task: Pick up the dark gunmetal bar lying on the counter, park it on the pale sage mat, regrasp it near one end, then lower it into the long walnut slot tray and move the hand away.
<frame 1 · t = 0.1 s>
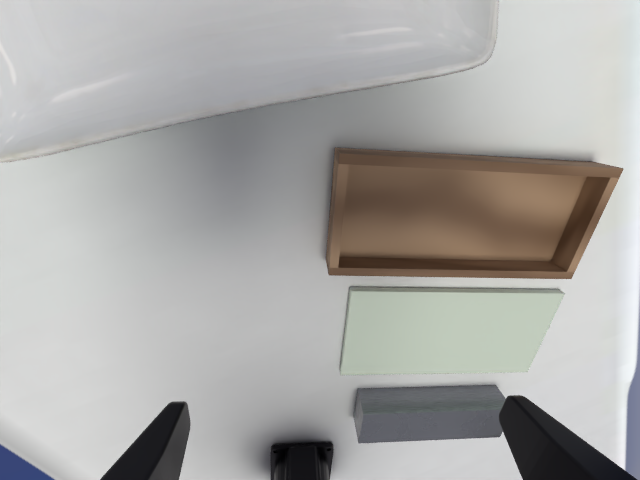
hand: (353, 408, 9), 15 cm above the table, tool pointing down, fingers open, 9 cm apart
sage mat: (445, 331, 27), on the table
walnut slot tray: (454, 212, 22), on the table
gunmetal bar: (422, 397, 31), on the table
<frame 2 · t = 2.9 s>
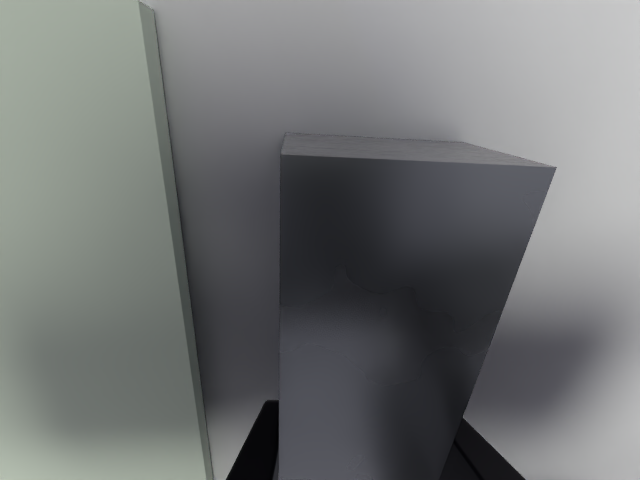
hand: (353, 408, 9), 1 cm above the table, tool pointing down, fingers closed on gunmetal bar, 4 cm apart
sage mat: (37, 375, 9), on the table
gunmetal bar: (345, 363, 10), on the table, touching gripper
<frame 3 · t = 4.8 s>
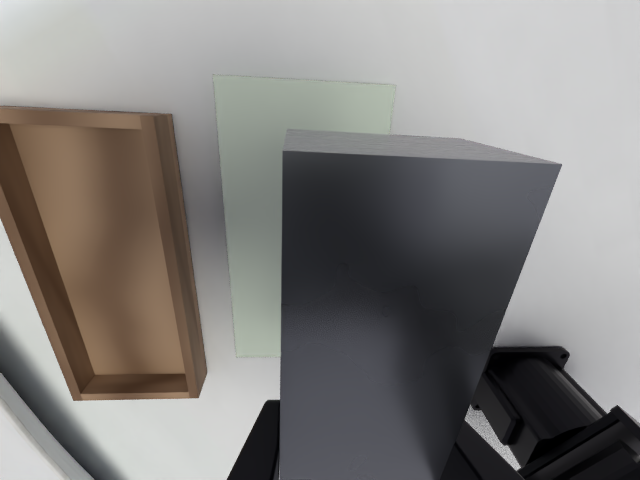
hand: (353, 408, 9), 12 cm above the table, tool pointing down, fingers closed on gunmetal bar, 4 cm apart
sage mat: (301, 241, 19), on the table
walnut slot tray: (125, 267, 19), on the table
gunmetal bar: (346, 363, 10), point 10 cm above the table, touching gripper
when the fingers open (3 cm above the table, at t = 6.5 s): gunmetal bar drops 1 cm, resting on sage mat.
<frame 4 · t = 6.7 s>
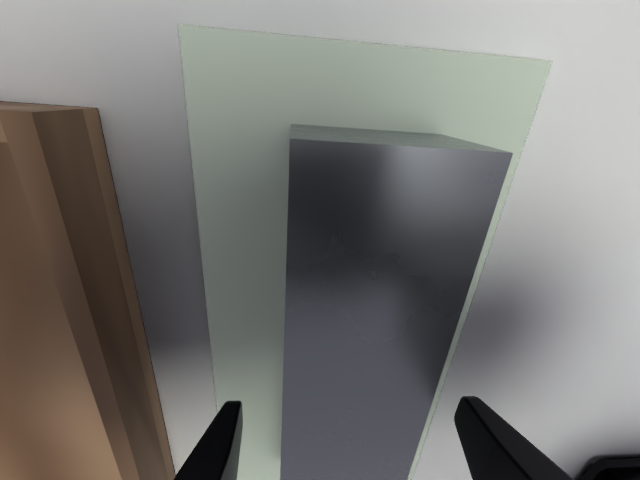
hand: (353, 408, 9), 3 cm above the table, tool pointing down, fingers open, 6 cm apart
sage mat: (337, 327, 12), on the table
walnut slot tray: (35, 369, 11), on the table
gunmetal bar: (341, 336, 11), point 1 cm above the table, touching sage mat
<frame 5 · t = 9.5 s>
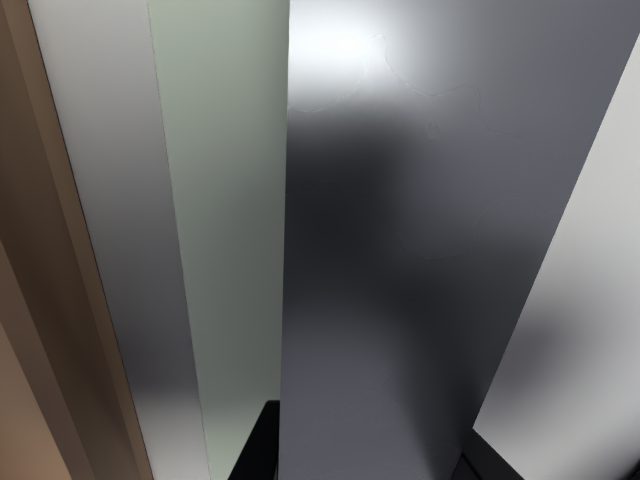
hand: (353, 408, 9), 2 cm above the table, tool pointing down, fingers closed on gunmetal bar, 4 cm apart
sage mat: (352, 281, 9), on the table
gunmetal bar: (358, 290, 8), point 1 cm above the table, touching gripper, sage mat
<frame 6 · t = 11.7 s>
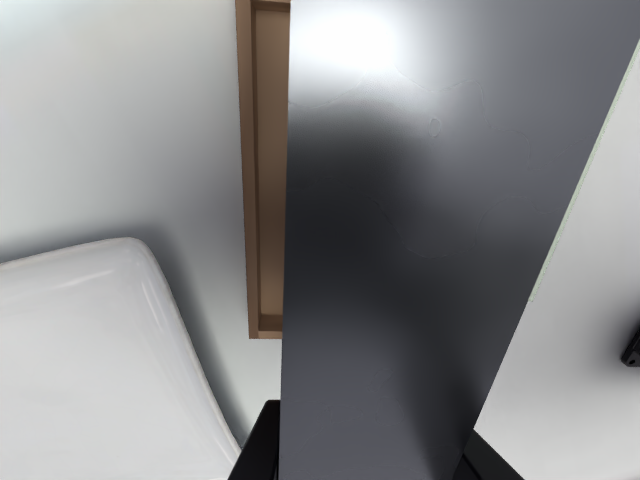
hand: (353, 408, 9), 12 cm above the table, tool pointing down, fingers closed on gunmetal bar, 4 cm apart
sage mat: (507, 168, 18), on the table
walnut slot tray: (320, 193, 18), on the table
gunmetal bar: (359, 289, 8), point 11 cm above the table, touching gripper
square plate: (68, 398, 25), on the table
when the fingers open (3 cm above the table, at t = 13.6 s): gunmetal bar drops 1 cm, resting on walnut slot tray.
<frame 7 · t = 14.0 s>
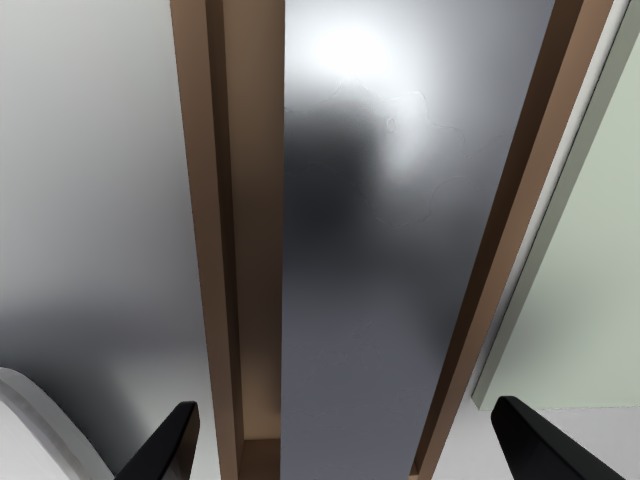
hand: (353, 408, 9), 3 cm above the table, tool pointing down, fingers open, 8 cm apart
walnut slot tray: (345, 257, 10), on the table
gunmetal bar: (348, 265, 10), point 1 cm above the table, touching walnut slot tray
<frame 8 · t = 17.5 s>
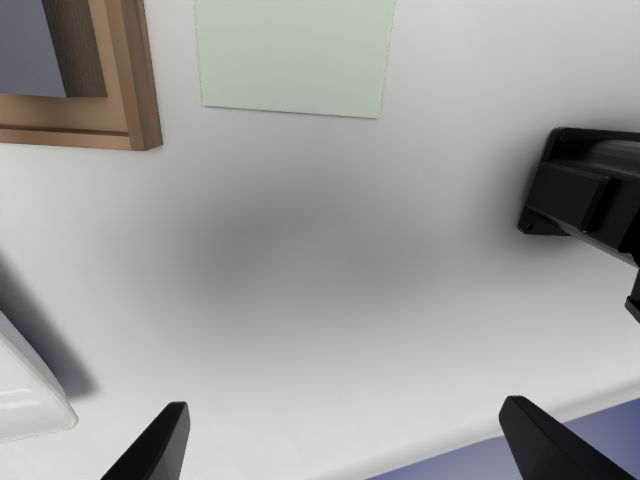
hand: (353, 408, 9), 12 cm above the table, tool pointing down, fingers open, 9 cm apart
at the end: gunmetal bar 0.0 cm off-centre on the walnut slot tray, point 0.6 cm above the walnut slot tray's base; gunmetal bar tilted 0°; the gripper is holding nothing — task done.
